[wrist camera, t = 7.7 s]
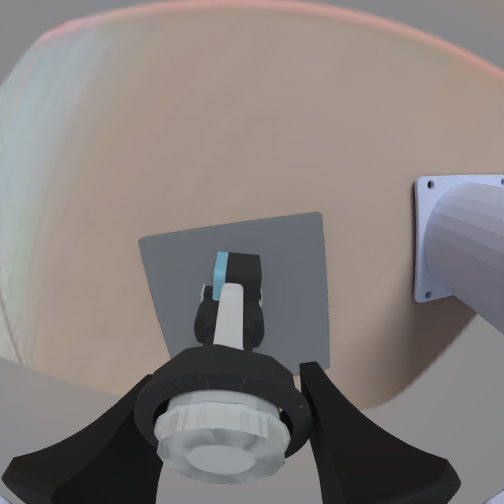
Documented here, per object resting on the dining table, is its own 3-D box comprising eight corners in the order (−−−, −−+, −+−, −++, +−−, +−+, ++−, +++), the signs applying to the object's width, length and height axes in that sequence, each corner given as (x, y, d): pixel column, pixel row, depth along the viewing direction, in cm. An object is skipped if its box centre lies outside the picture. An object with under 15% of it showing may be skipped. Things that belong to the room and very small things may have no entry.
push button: (271, 351, 17) (288, 504, 8) (184, 344, 17) (149, 493, 8) (288, 249, 15) (344, 406, 6) (183, 240, 15) (105, 387, 6)
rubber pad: (318, 211, 16) (321, 214, 15) (327, 361, 19) (329, 368, 18) (143, 237, 16) (137, 240, 16) (182, 376, 19) (179, 383, 18)
